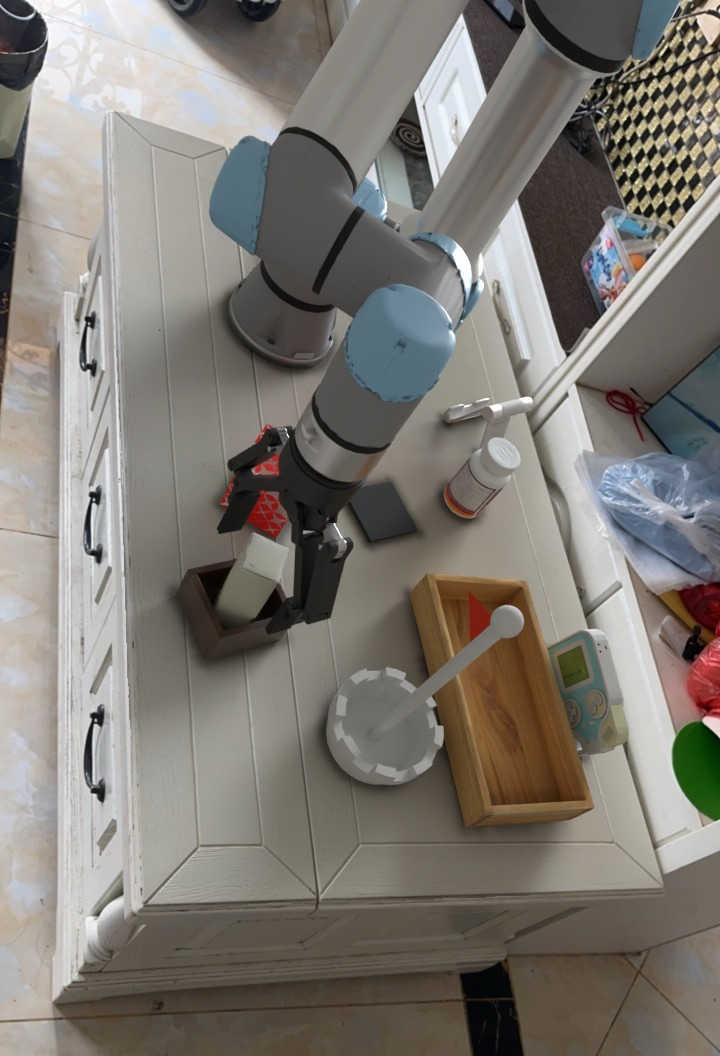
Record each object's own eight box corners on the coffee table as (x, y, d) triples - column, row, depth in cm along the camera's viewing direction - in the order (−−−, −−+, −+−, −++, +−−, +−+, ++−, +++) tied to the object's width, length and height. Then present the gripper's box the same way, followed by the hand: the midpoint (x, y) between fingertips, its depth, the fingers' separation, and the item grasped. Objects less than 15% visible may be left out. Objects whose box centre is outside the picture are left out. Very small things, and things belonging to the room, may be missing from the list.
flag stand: (434, 785, 101) (599, 677, 77) (333, 800, 94) (478, 688, 71) (404, 682, 106) (549, 550, 82) (305, 690, 99) (432, 549, 75)
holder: (174, 594, 98) (187, 569, 93) (249, 576, 103) (264, 551, 99) (205, 661, 96) (219, 638, 91) (280, 639, 101) (297, 617, 97)
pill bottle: (470, 483, 127) (514, 433, 118) (485, 519, 125) (531, 471, 116) (435, 484, 124) (477, 433, 115) (450, 521, 121) (494, 471, 112)
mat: (342, 492, 115) (344, 490, 115) (389, 483, 120) (391, 481, 119) (369, 543, 113) (371, 541, 113) (416, 532, 118) (418, 530, 117)
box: (240, 643, 98) (279, 586, 88) (203, 628, 97) (238, 569, 87) (252, 606, 101) (291, 547, 91) (216, 591, 100) (252, 529, 90)
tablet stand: (480, 406, 136) (510, 369, 129) (508, 446, 134) (539, 411, 127) (441, 416, 131) (470, 377, 124) (469, 458, 129) (500, 421, 122)
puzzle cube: (246, 463, 111) (267, 423, 104) (300, 496, 112) (323, 459, 106) (219, 504, 106) (239, 464, 100) (275, 538, 107) (298, 501, 101)
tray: (407, 593, 112) (428, 570, 108) (505, 600, 119) (528, 578, 114) (460, 830, 99) (486, 815, 95) (566, 822, 106) (595, 808, 102)
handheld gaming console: (560, 764, 112) (532, 653, 116) (576, 761, 114) (548, 652, 118) (620, 745, 103) (587, 624, 107) (637, 742, 104) (605, 624, 108)
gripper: (237, 344, 76) (175, 490, 93) (359, 577, 70) (269, 687, 87) (309, 339, 80) (237, 480, 97) (430, 559, 74) (331, 667, 91)
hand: (252, 578), depth 92 cm, fingers open, 12 cm apart
